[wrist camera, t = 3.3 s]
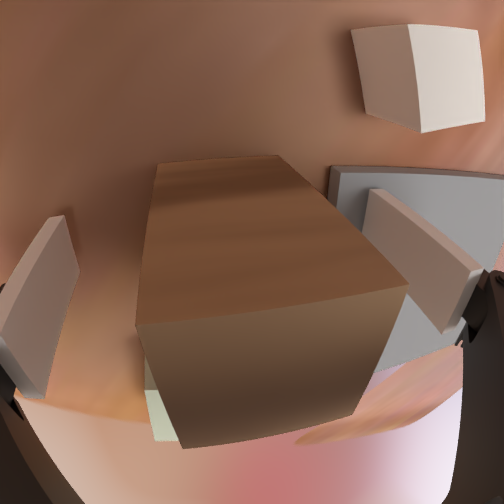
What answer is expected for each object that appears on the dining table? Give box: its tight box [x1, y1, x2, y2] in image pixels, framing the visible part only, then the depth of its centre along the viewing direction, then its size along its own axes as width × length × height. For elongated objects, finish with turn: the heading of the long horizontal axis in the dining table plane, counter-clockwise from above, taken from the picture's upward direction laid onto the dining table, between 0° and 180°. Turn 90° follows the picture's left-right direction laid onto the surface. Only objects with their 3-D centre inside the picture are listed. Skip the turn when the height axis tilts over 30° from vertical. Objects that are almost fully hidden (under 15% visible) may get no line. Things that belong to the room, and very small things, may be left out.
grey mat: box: [327, 166, 504, 373], centre depth 19 cm, size 16×16×1 cm
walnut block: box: [135, 156, 410, 449], centre depth 10 cm, size 5×5×9 cm
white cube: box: [351, 24, 485, 133], centre depth 10 cm, size 4×4×4 cm
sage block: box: [145, 356, 179, 441], centre depth 17 cm, size 6×4×4 cm, turn 171°
